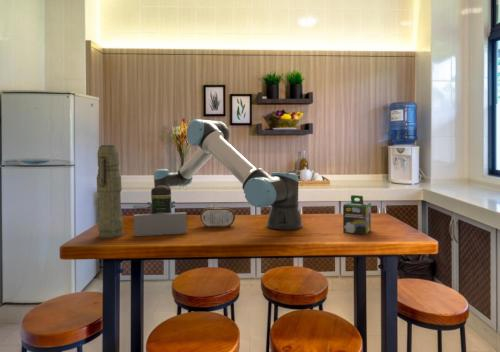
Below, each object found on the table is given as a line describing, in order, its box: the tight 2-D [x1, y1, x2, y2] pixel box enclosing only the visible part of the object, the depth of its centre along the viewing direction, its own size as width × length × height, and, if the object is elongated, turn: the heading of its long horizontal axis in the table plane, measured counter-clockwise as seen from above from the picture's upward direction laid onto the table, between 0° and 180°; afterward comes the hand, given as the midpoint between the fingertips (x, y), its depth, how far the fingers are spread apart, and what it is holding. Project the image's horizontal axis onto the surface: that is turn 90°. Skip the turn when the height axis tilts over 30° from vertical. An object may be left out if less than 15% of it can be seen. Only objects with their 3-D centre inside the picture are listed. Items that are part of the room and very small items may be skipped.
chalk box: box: [342, 194, 372, 236], centre depth 143 cm, size 9×9×15 cm
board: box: [133, 211, 188, 237], centre depth 141 cm, size 3×20×8 cm, turn 103°
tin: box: [199, 206, 236, 228], centre depth 154 cm, size 15×3×8 cm, turn 92°
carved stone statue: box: [96, 144, 124, 239], centre depth 138 cm, size 9×12×35 cm
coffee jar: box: [150, 185, 172, 214], centre depth 147 cm, size 10×8×19 cm
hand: (160, 210), depth 152 cm, fingers closed
